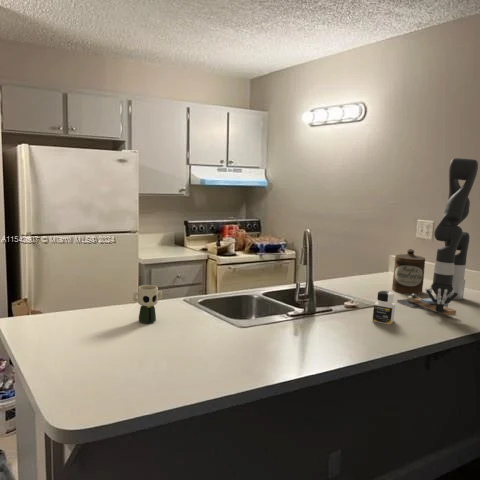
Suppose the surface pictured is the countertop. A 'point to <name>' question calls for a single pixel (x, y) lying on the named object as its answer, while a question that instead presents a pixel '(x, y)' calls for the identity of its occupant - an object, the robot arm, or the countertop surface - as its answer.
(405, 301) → the pivot base
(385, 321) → the medicine bottle
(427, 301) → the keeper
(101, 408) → the countertop surface
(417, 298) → the link
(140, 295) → the character mug
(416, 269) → the wooden container
